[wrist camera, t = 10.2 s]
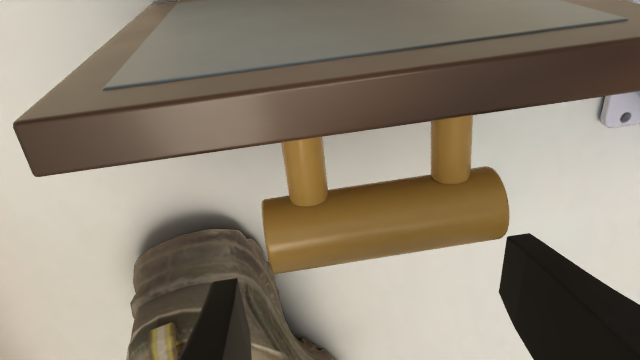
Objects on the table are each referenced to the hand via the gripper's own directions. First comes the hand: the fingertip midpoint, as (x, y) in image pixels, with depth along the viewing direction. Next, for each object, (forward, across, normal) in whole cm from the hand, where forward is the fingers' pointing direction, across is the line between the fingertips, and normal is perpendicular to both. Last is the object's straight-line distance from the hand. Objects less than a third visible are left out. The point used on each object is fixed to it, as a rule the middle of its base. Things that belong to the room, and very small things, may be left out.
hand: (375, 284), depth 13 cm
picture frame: (+4, 0, -6) cm, 7 cm away
